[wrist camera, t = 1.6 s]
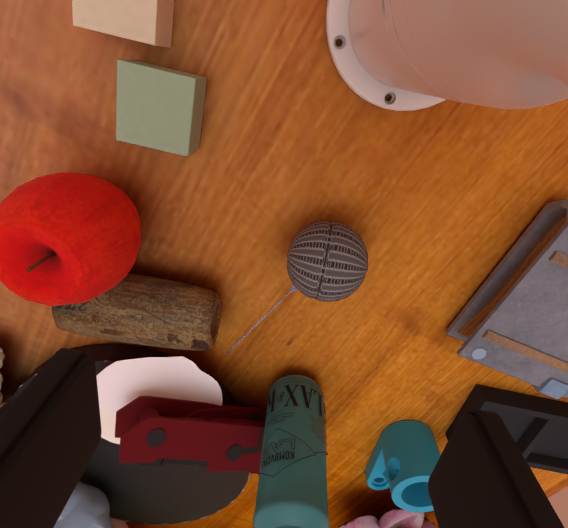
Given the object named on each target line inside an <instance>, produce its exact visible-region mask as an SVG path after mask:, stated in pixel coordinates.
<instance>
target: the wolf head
mask: <svg viewBox="0 0 568 528" xmlns="http://www.w3.org/2000/svg"><path fill="white" fill-rule="evenodd" d="M109 515H110V506H109V502H108V499H107V497H106V495H105V494H104V493H103V492H102V491H101V490H99V489H98V488H96V487H93V486H91V485H88V484H85V483H82V482H80V481H79V482H78V484H77V485H76V487H75V489H74V491H73V493H72V495H71V496H70V498H69V500H68V502H67V504H66V506H65V507H64V509H63V511H62V513H61V515H60V517H59V518H58V520H57V522H56V524H55V526H54V528H113V525H112V521H111V519H110V516H109Z"/></svg>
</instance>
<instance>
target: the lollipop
mask: <svg viewBox="0 0 568 528" xmlns="http://www.w3.org/2000/svg"><path fill="white" fill-rule="evenodd" d="M287 270H288V274H289V277H290V279H291V281H292V283H293V285H294V286H295V287H296V289H294V288H295V287H294V286H293V285H292V287H293V288H291V291H290V292H292V291H294V290H297V289H298V290H299V291H300V292H301V293H303V294H304V295H306V296H307V297H309V298H315V299H317V300H319V301H323V302H332V301H338V300H341V299H343V298H346V297H348V296H349V295H351V294H352V293H353V292H355V291H356V290H357V289H358V288H359V286H360V285H361V284H362V282H363V280H364V277H365V275H366V272H367V270H368V253H367V249H366V247H365V245H364V242H363V240H362V239H361V237H360V236H359V235H358V234H357V233H356V232H355V231H354V230H353V229H352V228H350V227H348V226H347V225H345V224H342V223H339V222H328V221H320V222H316V223H313V224H310V225H308V226H306V227H305V228H303V229H302V230H301V231H300V232H299V233H297V234H296V236H295V237H294V238H293V240H292V243H291V245H290V248H289V251H288V255H287ZM293 289H294V290H293ZM290 292H289V293H290ZM289 293H288V294H289ZM288 294H287V295H288ZM287 295H286V296H287ZM286 296H285V297H286ZM285 297H284V298H285ZM284 298H283V299H284ZM283 299H282V300H283ZM282 300H281V301H282ZM281 301H280V302H281ZM280 302H279V303H280ZM279 303H278V304H279ZM278 304H277V305H278ZM277 305H276V306H277ZM276 306H275V307H276ZM275 307H274V308H275ZM274 308H272V309H271V310H270V311H269V312H271V311H272V310H273V309H274ZM269 312H268V313H269ZM268 313H267V314H268ZM267 314H266V315H267ZM266 315H265V316H266ZM265 316H264V317H265ZM264 317H263V318H264ZM263 318H262V319H263ZM262 319H261V320H262ZM261 320H260V321H261ZM260 321H259V322H260ZM259 322H258V323H259ZM258 323H257V324H258ZM257 324H256V325H257ZM256 325H255V326H256ZM255 326H254V327H255ZM254 327H253V328H254ZM253 328H252V329H253ZM252 329H251V330H252ZM251 330H250V331H251ZM250 331H249V332H250ZM249 332H248V333H249ZM248 333H247V334H248ZM247 334H246V335H247ZM246 335H245V336H246ZM245 336H244V337H245ZM244 337H243V338H244ZM243 338H242V339H243ZM242 339H241V340H242ZM241 340H240V341H241ZM240 341H239V342H240ZM239 342H238V343H239ZM238 343H237V344H238ZM237 344H236V345H237ZM236 345H235V346H236ZM232 348H233V347H232ZM232 348H231V349H232ZM231 349H230V350H231ZM230 350H229V351H230ZM229 351H228V352H229ZM228 352H227V353H228ZM227 353H226V354H227ZM226 354H225V355H226Z"/></svg>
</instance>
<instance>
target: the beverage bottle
mask: <svg viewBox="0 0 568 528" xmlns="http://www.w3.org/2000/svg"><path fill="white" fill-rule="evenodd" d="M268 392H269V395H268V396H267V397H268V398H267V399H268V404H267V402H266V405H267V409H266V408H265V411H266V410H267V411H266V419H265V420H264V421H265V427H264V437H263V436H262V437H263V446H262V447H261V448H262V451H261V452H262V454H261V463H260V471H258V472H259V473H257V474H259V483H258V492H257V500H256V508H255V514H254V517H253V526H254V528H329V518H328V503H327V477H326V455H328V453H327V449H326V444H325V443H326V442H325V440H326V439H327V437H326V436H327V435H326V434H327V432H326V428H325V422H324V421H325V419H324V414H325V417H326V411H325V407H324V401H323V393H322V392H323V391H321V388H320V386H319V385H318V384H317V383H316V382H315V381H314V380H312V379H311V378H309V377H306V376H302V375H288V376H284V377H282V378H280V379H278V380H277V381H276V382H275V383H274V384H273V385H272V387H271V389H270V391H268ZM324 397H325V396H324ZM324 399H325V398H324ZM266 401H267V400H266ZM264 418H265V416H264ZM325 432H326V434H325ZM262 435H263V434H262ZM325 435H326V436H325ZM325 437H326V439H325ZM326 453H327V454H326Z"/></svg>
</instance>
